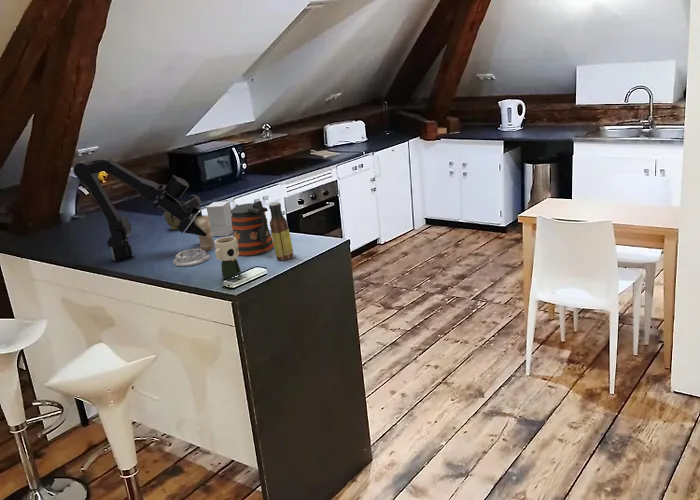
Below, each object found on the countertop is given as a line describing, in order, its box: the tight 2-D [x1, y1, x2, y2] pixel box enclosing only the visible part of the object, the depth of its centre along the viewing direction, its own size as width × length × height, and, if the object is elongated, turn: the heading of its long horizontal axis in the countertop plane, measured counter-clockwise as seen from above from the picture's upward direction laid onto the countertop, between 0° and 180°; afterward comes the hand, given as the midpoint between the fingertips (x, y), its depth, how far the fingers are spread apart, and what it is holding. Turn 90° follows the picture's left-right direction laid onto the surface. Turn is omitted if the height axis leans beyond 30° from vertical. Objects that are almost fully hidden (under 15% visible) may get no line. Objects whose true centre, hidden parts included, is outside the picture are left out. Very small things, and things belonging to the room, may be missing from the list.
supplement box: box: [206, 200, 233, 238], centre depth 277 cm, size 7×7×13 cm
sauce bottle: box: [268, 201, 295, 261], centre depth 237 cm, size 7×6×20 cm
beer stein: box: [230, 200, 274, 257], centre depth 248 cm, size 19×15×20 cm
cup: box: [163, 211, 180, 231], centre depth 293 cm, size 8×7×8 cm
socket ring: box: [172, 247, 211, 268], centre depth 250 cm, size 13×13×3 cm
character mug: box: [214, 236, 242, 279], centre depth 226 cm, size 11×7×13 cm, turn 150°
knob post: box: [195, 214, 215, 252], centre depth 260 cm, size 5×5×12 cm
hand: (208, 231), depth 259 cm, fingers open, 9 cm apart
